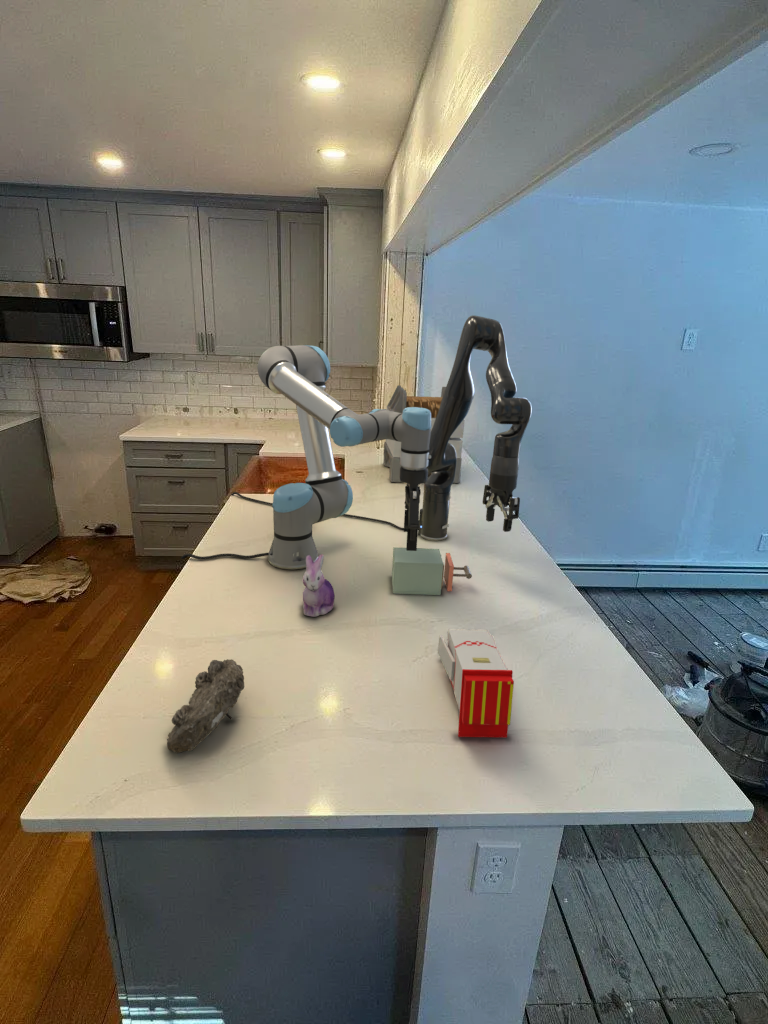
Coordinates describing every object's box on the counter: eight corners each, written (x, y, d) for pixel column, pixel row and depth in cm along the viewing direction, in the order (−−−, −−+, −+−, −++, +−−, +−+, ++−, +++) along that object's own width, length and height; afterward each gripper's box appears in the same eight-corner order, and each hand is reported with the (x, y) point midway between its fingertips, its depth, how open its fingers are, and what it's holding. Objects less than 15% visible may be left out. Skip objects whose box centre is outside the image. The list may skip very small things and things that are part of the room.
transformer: (382, 463, 289) (386, 382, 275) (445, 464, 293) (451, 384, 279) (390, 482, 257) (394, 392, 243) (460, 483, 261) (468, 394, 247)
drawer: (466, 577, 167) (469, 553, 165) (471, 592, 159) (474, 566, 156) (406, 575, 167) (408, 551, 164) (408, 590, 158) (409, 564, 156)
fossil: (192, 660, 117) (244, 628, 112) (224, 691, 120) (276, 661, 115) (142, 746, 98) (202, 712, 93) (182, 779, 101) (242, 748, 96)
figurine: (307, 621, 142) (307, 567, 137) (294, 603, 150) (293, 551, 145) (342, 614, 146) (343, 561, 141) (327, 596, 154) (328, 545, 149)
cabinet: (436, 578, 168) (439, 548, 165) (440, 595, 158) (443, 563, 155) (391, 577, 167) (393, 547, 164) (392, 593, 158) (394, 562, 155)
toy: (488, 613, 130) (523, 677, 101) (484, 667, 133) (517, 744, 104) (435, 612, 130) (455, 676, 101) (432, 666, 133) (451, 743, 103)
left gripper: (432, 480, 139) (427, 559, 146) (424, 455, 163) (419, 524, 170) (402, 479, 139) (398, 558, 146) (398, 455, 163) (394, 524, 170)
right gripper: (531, 476, 151) (523, 533, 156) (501, 463, 163) (495, 516, 169) (507, 479, 148) (501, 536, 153) (478, 465, 160) (473, 518, 166)
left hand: (409, 540), depth 158 cm, fingers open, 13 cm apart
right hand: (497, 525), depth 161 cm, fingers open, 8 cm apart
